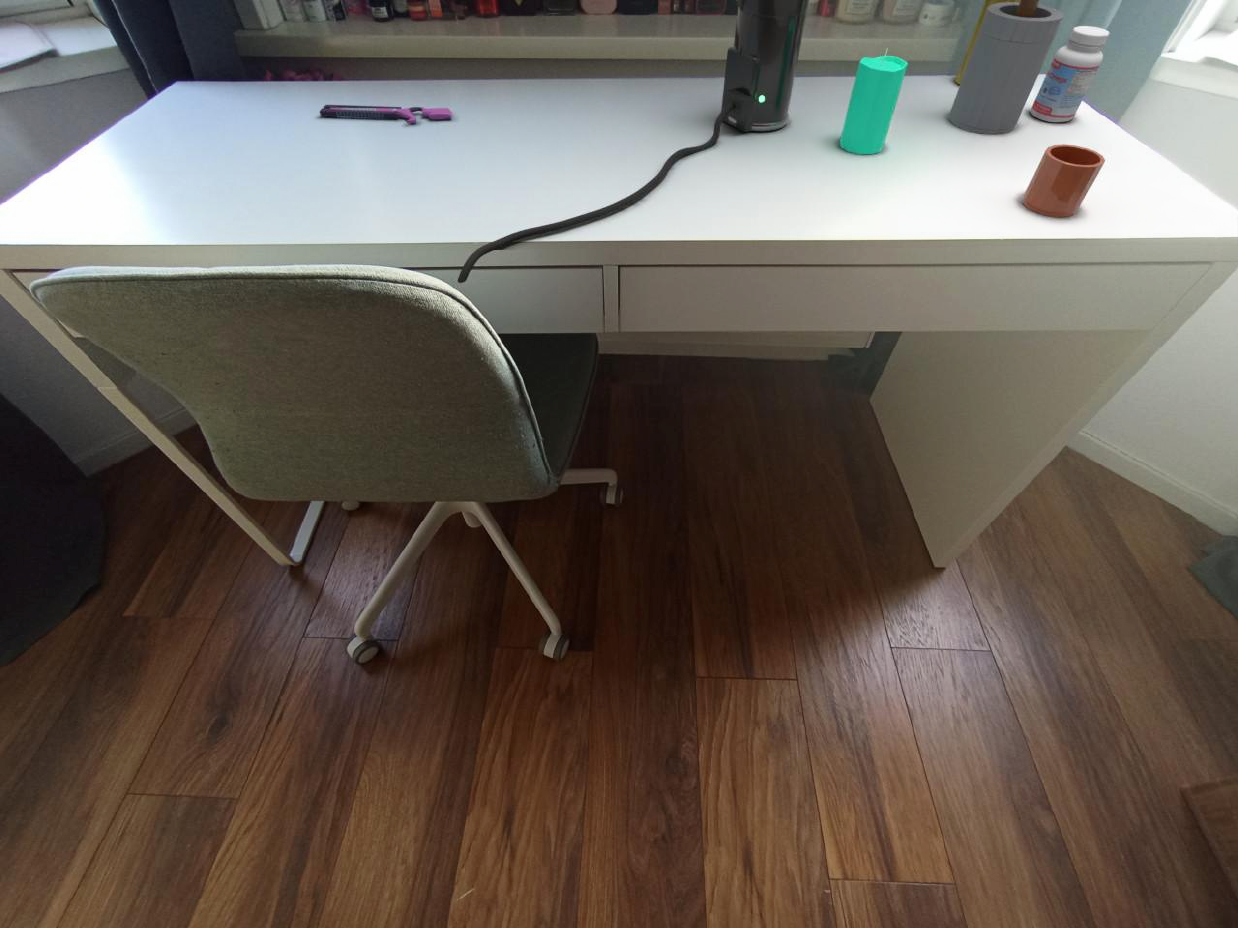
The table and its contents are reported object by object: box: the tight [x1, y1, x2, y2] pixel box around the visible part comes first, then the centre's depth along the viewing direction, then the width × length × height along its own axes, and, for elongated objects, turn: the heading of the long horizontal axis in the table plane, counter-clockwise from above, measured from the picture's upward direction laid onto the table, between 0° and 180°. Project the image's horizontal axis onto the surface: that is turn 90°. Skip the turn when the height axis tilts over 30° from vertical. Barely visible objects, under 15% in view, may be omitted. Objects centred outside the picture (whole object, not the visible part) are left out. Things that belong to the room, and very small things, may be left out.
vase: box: [954, 0, 1021, 86], centre depth 102 cm, size 6×6×14 cm
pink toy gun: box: [319, 104, 453, 124], centre depth 97 cm, size 21×1×5 cm
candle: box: [839, 47, 909, 155], centre depth 86 cm, size 6×6×12 cm
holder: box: [1021, 143, 1106, 218], centre depth 76 cm, size 6×6×6 cm
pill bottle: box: [1030, 25, 1110, 123], centre depth 93 cm, size 6×6×11 cm
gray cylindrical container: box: [948, 2, 1065, 135], centre depth 91 cm, size 9×9×14 cm
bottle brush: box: [1015, 0, 1040, 18], centre depth 86 cm, size 4×4×20 cm
